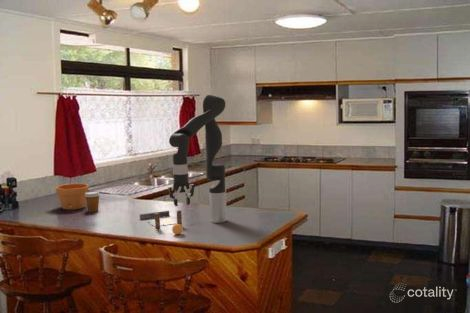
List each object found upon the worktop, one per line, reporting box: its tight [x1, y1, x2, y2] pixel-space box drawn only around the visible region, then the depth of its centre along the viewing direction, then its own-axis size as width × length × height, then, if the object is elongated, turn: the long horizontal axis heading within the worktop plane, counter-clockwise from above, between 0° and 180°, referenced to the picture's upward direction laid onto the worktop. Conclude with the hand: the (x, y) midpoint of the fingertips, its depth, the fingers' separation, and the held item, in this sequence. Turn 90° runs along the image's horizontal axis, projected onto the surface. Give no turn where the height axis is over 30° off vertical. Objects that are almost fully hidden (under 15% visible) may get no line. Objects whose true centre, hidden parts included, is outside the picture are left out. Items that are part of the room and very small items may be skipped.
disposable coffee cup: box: [85, 190, 100, 213], centre depth 350 cm, size 10×10×12 cm
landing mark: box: [162, 217, 177, 226], centre depth 312 cm, size 14×14×1 cm
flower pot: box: [55, 183, 90, 211], centre depth 362 cm, size 21×21×15 cm
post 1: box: [154, 213, 161, 230], centre depth 296 cm, size 3×3×9 cm
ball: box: [171, 224, 184, 236], centre depth 284 cm, size 6×6×6 cm
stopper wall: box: [139, 210, 170, 220], centre depth 325 cm, size 2×18×3 cm, turn 114°
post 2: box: [176, 209, 183, 227], centre depth 301 cm, size 3×3×9 cm
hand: (182, 205), depth 274 cm, fingers open, 5 cm apart
